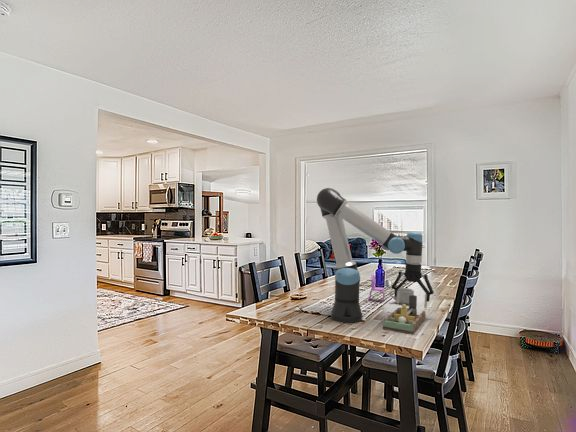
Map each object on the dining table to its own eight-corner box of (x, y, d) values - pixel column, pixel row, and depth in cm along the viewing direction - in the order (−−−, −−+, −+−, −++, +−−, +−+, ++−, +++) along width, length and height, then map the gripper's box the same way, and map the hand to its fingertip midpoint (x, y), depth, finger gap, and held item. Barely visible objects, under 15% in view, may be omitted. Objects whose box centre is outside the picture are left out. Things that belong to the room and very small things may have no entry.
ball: (405, 325, 167) (403, 325, 164) (397, 321, 169) (396, 321, 166) (408, 318, 168) (406, 318, 165) (401, 315, 169) (399, 314, 166)
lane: (413, 334, 157) (413, 324, 157) (382, 328, 163) (383, 319, 163) (425, 318, 181) (425, 309, 181) (398, 314, 188) (398, 305, 188)
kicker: (413, 325, 167) (413, 305, 167) (393, 321, 171) (393, 302, 171) (422, 314, 185) (423, 296, 185) (404, 311, 190) (404, 294, 190)
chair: (383, 303, 211) (383, 276, 211) (367, 301, 214) (368, 275, 214) (384, 300, 219) (385, 274, 219) (369, 298, 222) (370, 273, 222)
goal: (413, 331, 157) (413, 325, 157) (382, 326, 163) (383, 320, 163) (416, 326, 163) (417, 321, 163) (387, 321, 170) (387, 316, 170)
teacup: (411, 301, 216) (411, 287, 216) (415, 306, 206) (416, 291, 206) (387, 300, 218) (387, 286, 218) (390, 305, 207) (390, 290, 207)
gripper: (441, 265, 182) (439, 308, 183) (390, 260, 195) (388, 300, 195) (438, 267, 176) (436, 311, 176) (386, 261, 188) (384, 302, 189)
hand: (411, 305), depth 186 cm, fingers open, 13 cm apart
